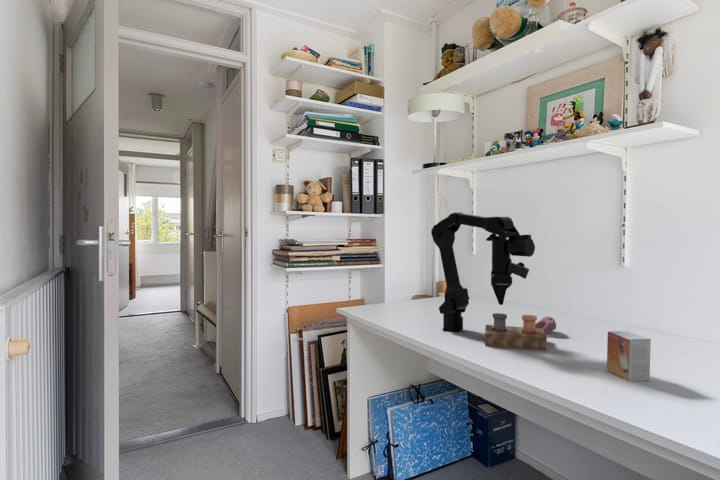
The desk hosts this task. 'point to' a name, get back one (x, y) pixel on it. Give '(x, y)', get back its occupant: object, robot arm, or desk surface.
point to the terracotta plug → (529, 323)
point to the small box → (628, 355)
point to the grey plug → (499, 322)
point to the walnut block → (515, 338)
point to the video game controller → (546, 324)
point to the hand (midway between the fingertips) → (500, 302)
